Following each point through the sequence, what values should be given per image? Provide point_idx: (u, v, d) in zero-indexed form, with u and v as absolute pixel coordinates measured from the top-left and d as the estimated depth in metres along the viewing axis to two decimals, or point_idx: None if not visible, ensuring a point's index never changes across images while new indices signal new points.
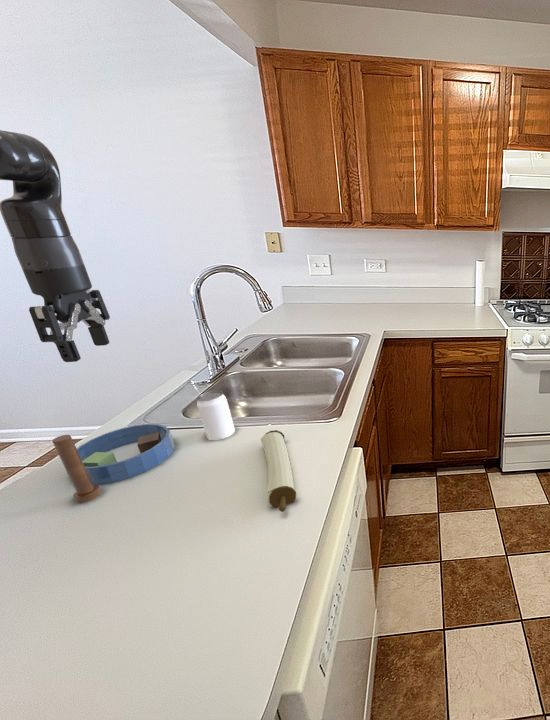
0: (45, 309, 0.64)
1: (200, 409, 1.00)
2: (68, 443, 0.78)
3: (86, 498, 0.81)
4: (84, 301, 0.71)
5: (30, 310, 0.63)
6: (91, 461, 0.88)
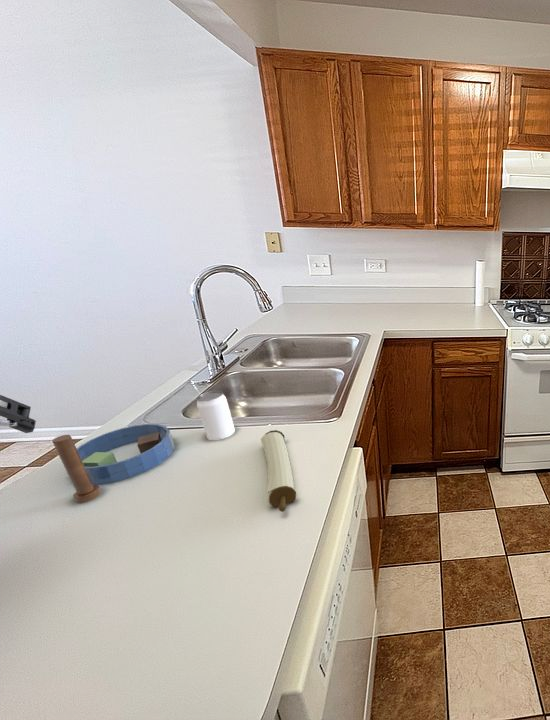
0: None
1: (200, 409, 1.00)
2: (68, 443, 0.78)
3: (86, 498, 0.81)
4: None
5: None
6: (91, 461, 0.88)
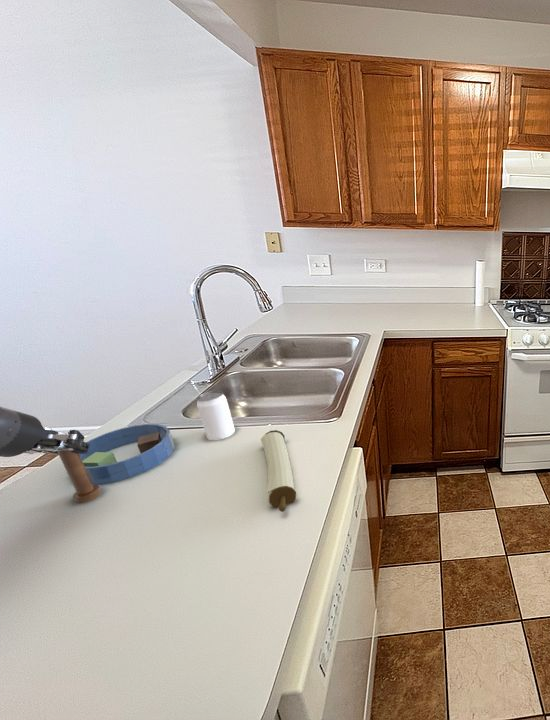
0: None
1: (200, 409, 1.00)
2: None
3: (86, 498, 0.81)
4: (33, 447, 0.71)
5: None
6: (91, 461, 0.88)
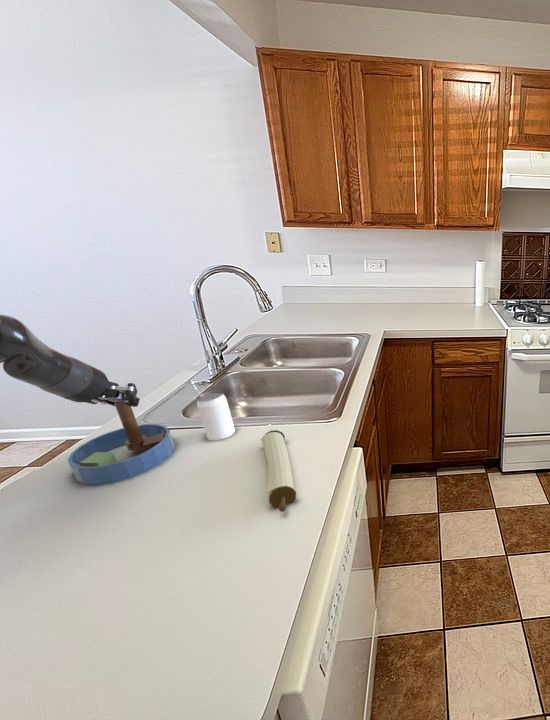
0: None
1: (200, 409, 1.00)
2: None
3: (137, 445, 0.95)
4: (99, 396, 0.85)
5: None
6: (91, 461, 0.88)
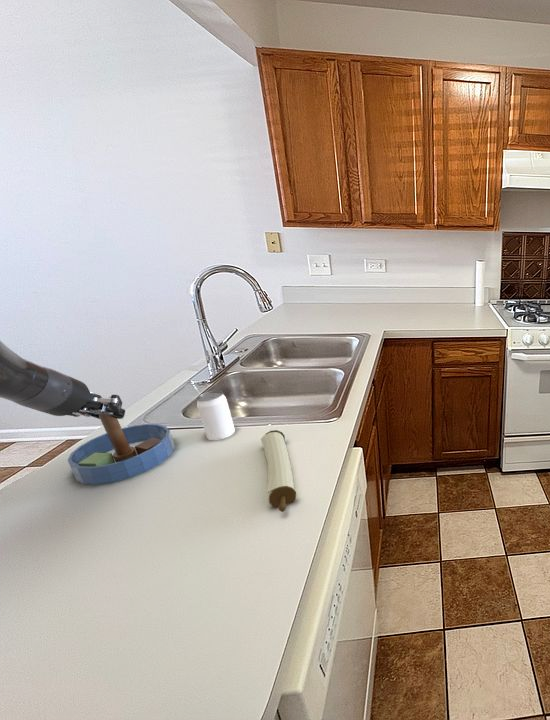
0: None
1: (200, 409, 1.00)
2: None
3: (127, 457, 0.91)
4: (80, 409, 0.80)
5: None
6: (89, 462, 0.88)
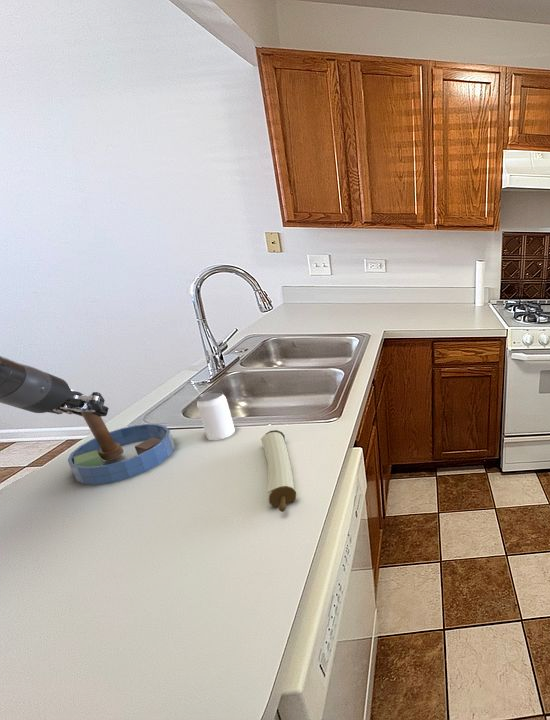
0: None
1: (200, 409, 1.00)
2: None
3: (111, 454, 0.92)
4: (61, 406, 0.81)
5: None
6: (87, 459, 0.89)
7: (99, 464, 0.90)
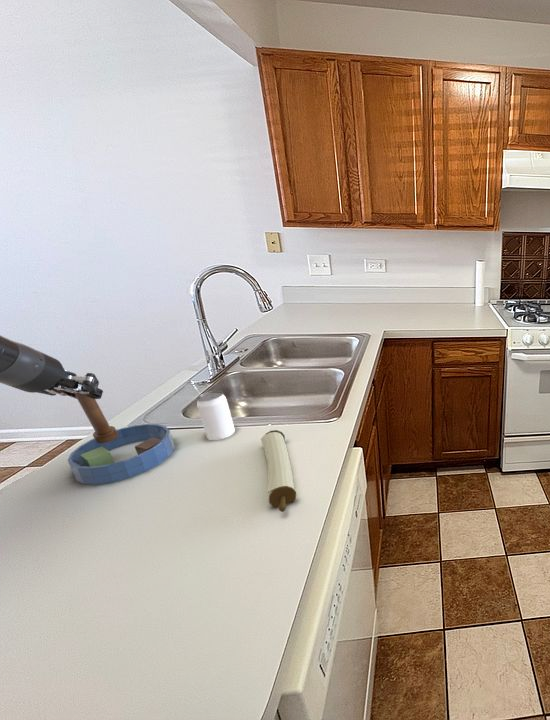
0: None
1: (200, 409, 1.00)
2: None
3: (106, 437, 0.92)
4: (55, 387, 0.80)
5: None
6: (98, 454, 0.90)
7: (110, 459, 0.92)
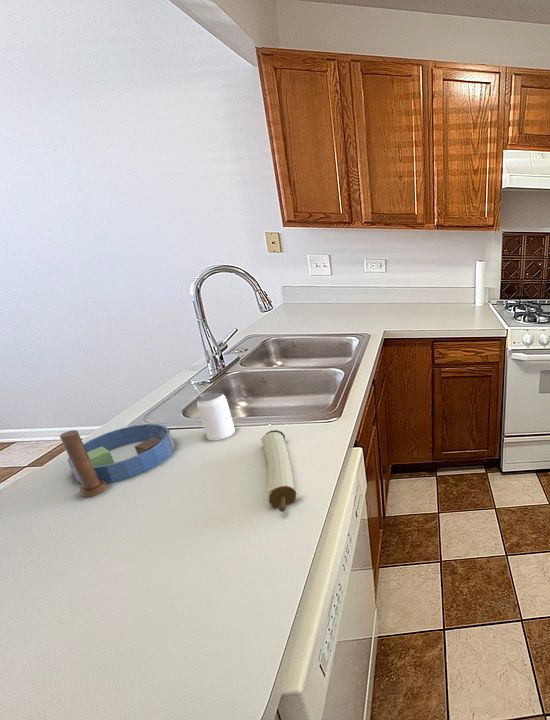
0: None
1: (200, 409, 1.00)
2: (76, 438, 0.80)
3: (94, 492, 0.83)
4: None
5: None
6: (98, 454, 0.90)
7: (110, 459, 0.92)
